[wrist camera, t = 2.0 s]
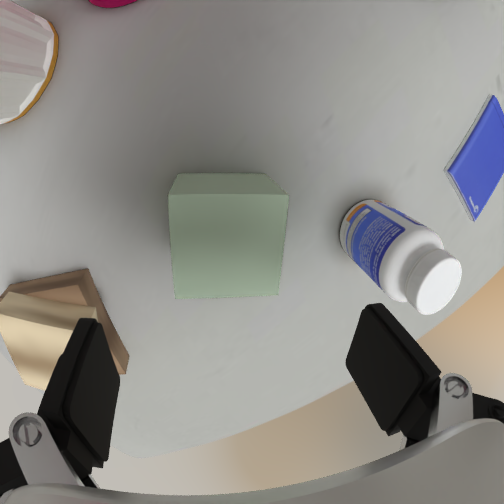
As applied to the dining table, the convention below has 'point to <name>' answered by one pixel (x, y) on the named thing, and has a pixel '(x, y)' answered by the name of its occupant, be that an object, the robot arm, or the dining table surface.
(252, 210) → the sage block
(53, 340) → the oak top block
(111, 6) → the pepper mill
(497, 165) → the hard drive
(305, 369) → the dining table surface
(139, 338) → the dining table surface
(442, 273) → the pill bottle
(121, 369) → the walnut base block
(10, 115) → the cup
